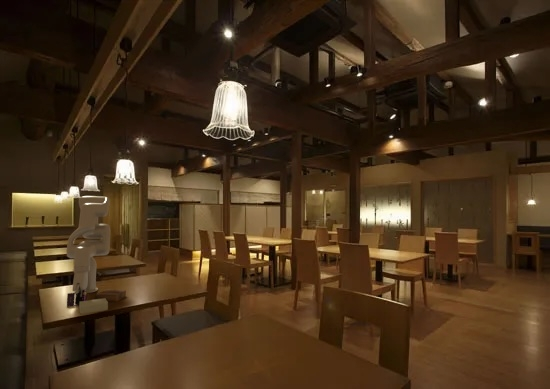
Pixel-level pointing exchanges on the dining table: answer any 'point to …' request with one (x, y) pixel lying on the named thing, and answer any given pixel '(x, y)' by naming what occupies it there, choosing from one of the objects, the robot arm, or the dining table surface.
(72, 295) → the purple printed box
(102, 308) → the sage block
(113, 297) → the walnut block
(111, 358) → the dining table surface
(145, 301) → the dining table surface
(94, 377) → the dining table surface
